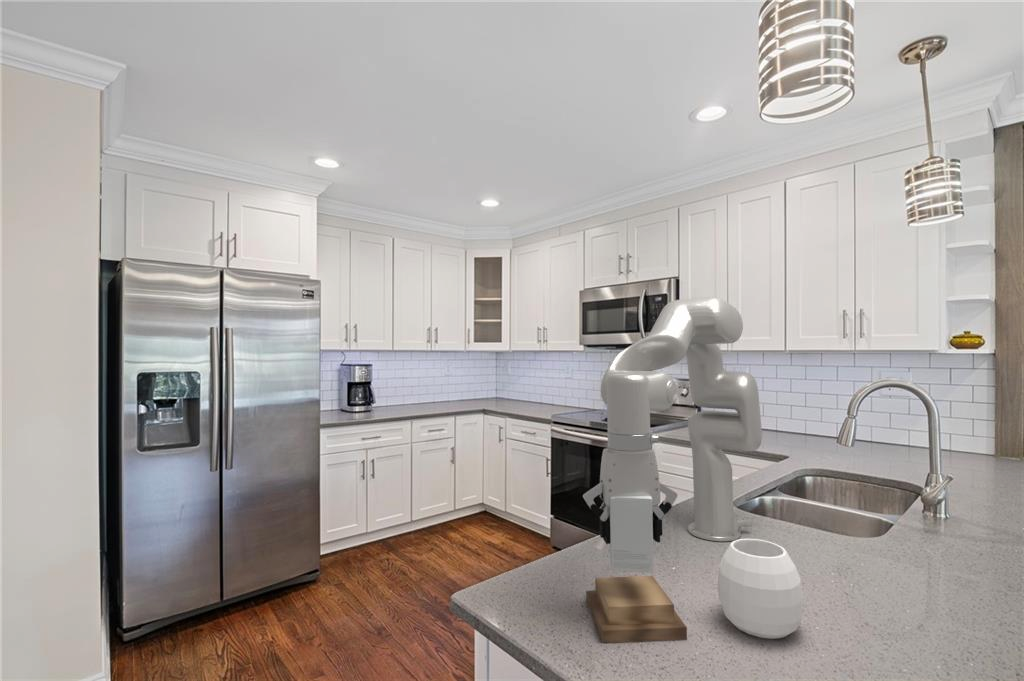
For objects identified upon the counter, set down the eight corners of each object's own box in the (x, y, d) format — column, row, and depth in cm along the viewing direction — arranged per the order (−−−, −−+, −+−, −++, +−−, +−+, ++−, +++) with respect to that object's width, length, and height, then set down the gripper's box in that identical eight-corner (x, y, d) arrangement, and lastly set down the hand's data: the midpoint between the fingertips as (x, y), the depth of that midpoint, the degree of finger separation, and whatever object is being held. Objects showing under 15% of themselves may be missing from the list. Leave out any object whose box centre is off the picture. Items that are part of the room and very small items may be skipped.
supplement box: (654, 574, 85) (652, 499, 86) (610, 571, 87) (608, 497, 87) (651, 556, 93) (649, 487, 93) (610, 554, 94) (609, 486, 95)
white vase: (707, 607, 93) (705, 533, 94) (779, 607, 93) (777, 533, 93) (737, 648, 80) (734, 563, 81) (821, 648, 80) (818, 563, 80)
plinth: (658, 598, 97) (657, 572, 97) (687, 639, 83) (686, 608, 83) (586, 601, 96) (585, 574, 96) (602, 643, 82) (602, 612, 82)
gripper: (669, 438, 95) (671, 531, 94) (577, 440, 94) (578, 534, 93) (684, 445, 87) (687, 546, 87) (584, 447, 86) (586, 550, 86)
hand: (630, 540), depth 90 cm, fingers closed on supplement box, 8 cm apart
